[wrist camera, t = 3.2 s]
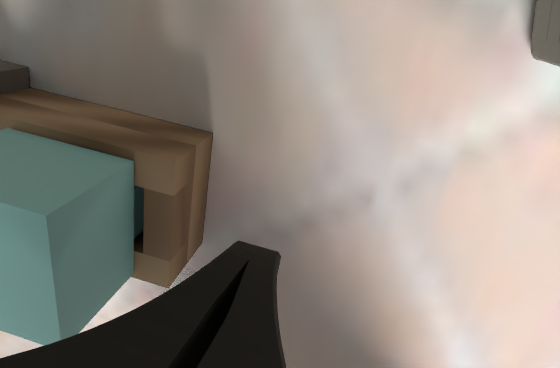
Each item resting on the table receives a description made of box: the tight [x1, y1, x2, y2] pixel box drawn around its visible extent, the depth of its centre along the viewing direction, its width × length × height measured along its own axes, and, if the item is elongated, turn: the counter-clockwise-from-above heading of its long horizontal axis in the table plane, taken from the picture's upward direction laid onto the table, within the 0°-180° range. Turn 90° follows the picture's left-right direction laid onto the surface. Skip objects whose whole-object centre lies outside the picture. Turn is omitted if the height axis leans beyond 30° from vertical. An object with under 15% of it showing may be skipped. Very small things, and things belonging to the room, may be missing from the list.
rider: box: [0, 128, 144, 345], centre depth 12 cm, size 4×4×5 cm
